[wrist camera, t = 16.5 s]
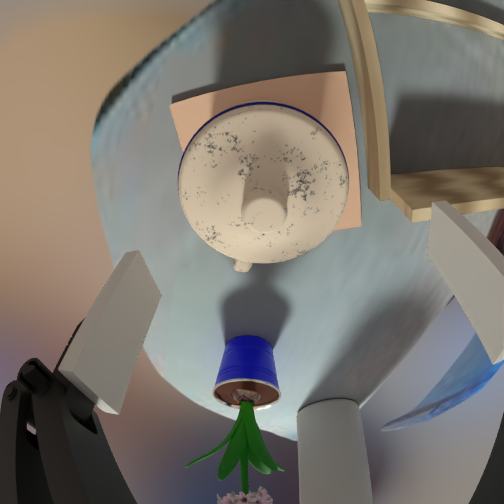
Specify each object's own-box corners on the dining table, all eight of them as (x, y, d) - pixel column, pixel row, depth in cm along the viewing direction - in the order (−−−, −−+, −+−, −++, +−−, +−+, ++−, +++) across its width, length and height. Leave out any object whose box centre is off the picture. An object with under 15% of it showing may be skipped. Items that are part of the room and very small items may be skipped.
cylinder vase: (361, 392, 44) (380, 516, 23) (354, 416, 50) (367, 517, 29) (294, 402, 45) (298, 530, 24) (298, 424, 52) (301, 527, 31)
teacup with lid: (216, 86, 19) (171, 89, 9) (332, 113, 19) (398, 144, 10) (195, 221, 25) (157, 316, 15) (292, 240, 26) (308, 341, 16)
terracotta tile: (343, 71, 18) (345, 71, 17) (359, 223, 25) (361, 226, 25) (171, 104, 20) (169, 104, 19) (215, 246, 27) (214, 250, 27)
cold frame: (522, 41, 11) (564, 47, 5) (527, 173, 20) (563, 198, 14) (338, 1, 14) (367, -26, 8) (368, 187, 23) (399, 224, 17)
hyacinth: (216, 317, 33) (182, 581, 8) (293, 339, 35) (303, 577, 10) (198, 354, 37) (167, 562, 12) (265, 372, 39) (261, 567, 14)
